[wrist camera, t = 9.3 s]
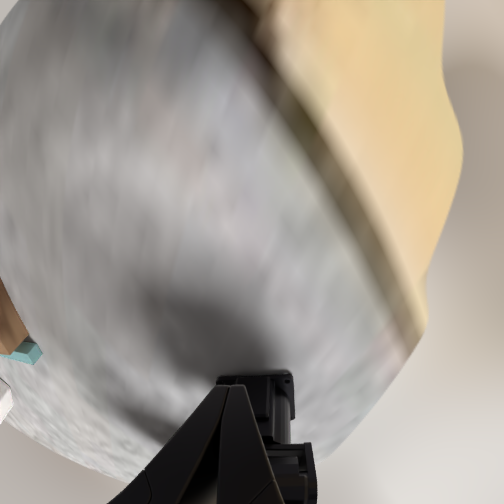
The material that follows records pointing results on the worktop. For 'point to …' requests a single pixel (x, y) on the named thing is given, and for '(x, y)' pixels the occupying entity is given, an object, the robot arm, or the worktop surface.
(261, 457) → the robot arm
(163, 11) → the worktop surface
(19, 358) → the jig
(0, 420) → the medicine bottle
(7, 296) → the t block
